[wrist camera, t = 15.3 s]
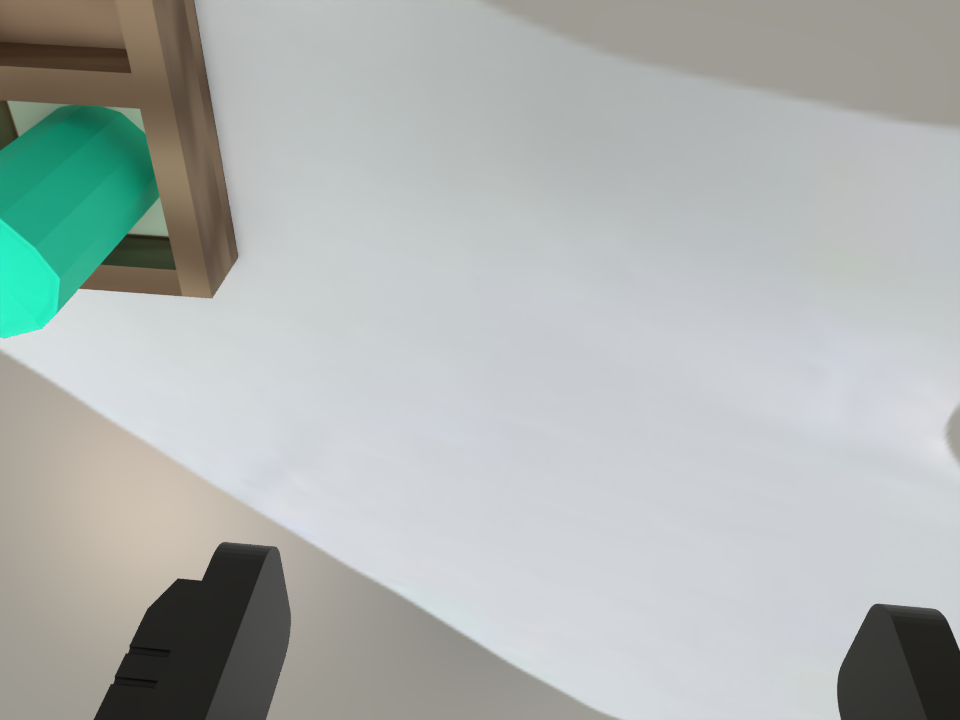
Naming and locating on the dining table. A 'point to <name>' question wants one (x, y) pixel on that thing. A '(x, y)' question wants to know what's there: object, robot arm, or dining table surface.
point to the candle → (66, 207)
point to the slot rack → (149, 105)
